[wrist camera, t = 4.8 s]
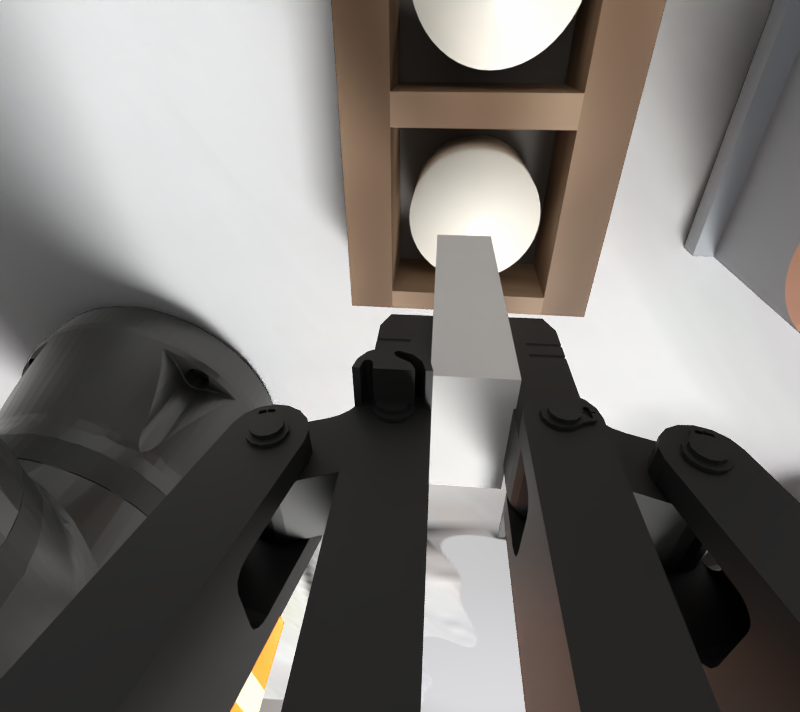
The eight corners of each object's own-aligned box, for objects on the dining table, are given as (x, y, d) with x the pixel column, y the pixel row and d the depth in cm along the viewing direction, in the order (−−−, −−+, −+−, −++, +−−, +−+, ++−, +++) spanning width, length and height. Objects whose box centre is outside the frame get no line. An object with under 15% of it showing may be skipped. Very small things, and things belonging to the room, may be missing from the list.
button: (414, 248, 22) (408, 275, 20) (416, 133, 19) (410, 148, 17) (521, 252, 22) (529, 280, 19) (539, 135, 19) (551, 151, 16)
